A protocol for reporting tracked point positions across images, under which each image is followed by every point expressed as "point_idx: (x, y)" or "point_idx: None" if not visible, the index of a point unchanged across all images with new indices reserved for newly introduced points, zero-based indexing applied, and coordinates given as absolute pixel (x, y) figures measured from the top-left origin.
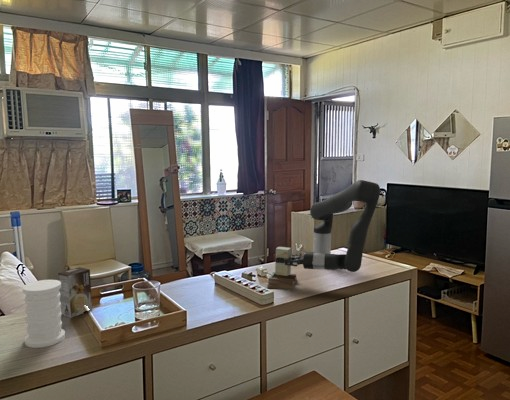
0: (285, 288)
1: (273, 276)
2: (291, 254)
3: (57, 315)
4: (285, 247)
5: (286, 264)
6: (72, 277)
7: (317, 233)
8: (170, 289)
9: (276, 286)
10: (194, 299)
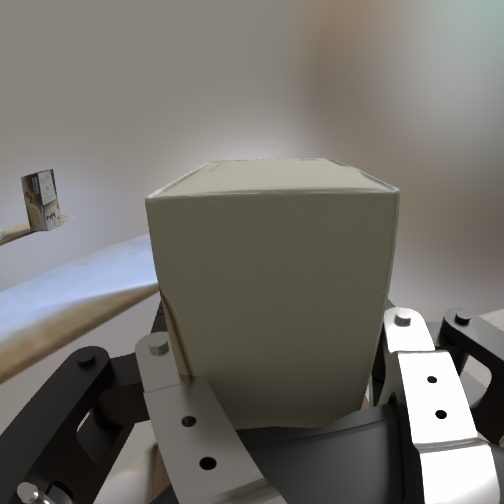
0: None
1: None
2: (466, 338)
3: None
4: (344, 170)
5: (88, 422)
6: (23, 180)
7: None
8: (125, 245)
9: (156, 468)
10: (54, 282)
